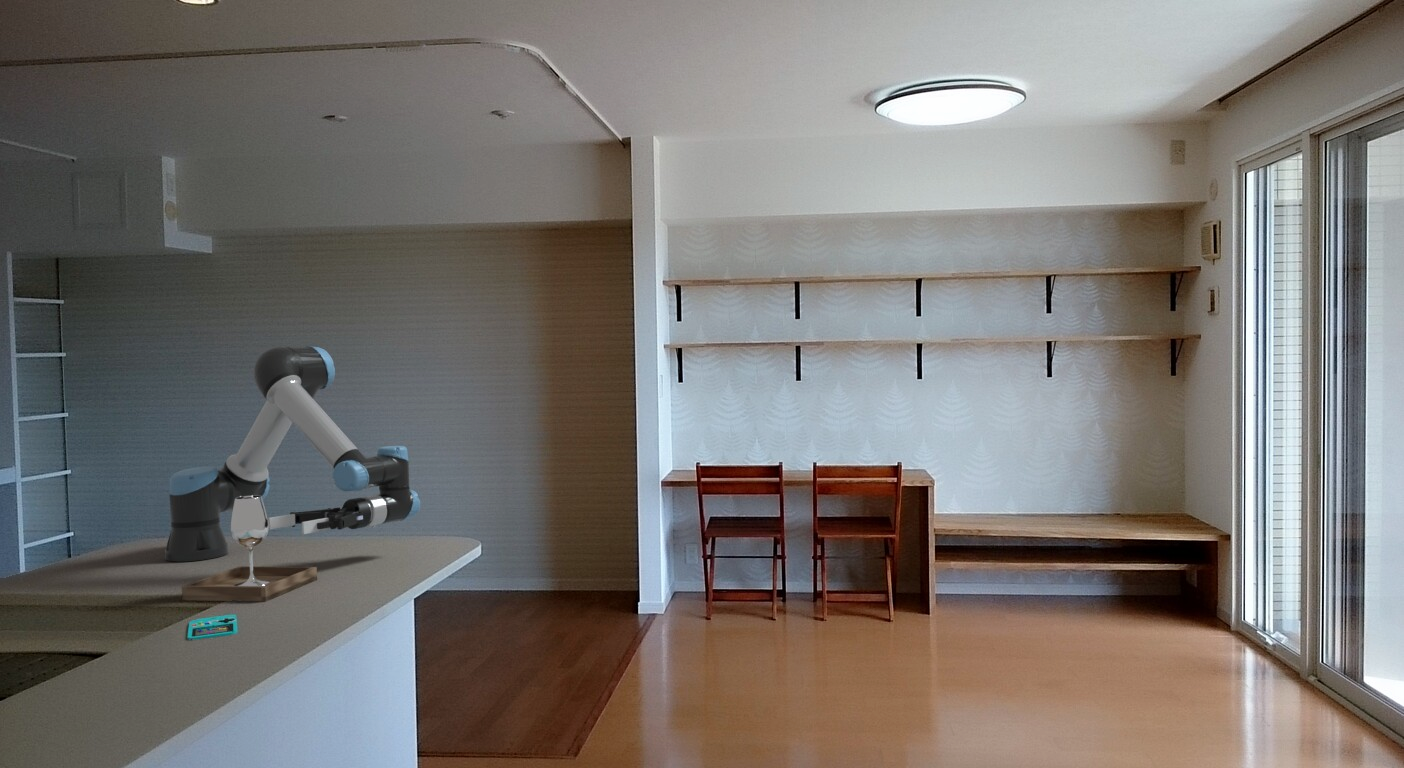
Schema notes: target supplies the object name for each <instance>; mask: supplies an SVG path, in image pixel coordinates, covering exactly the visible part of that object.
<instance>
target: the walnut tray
mask: <svg viewBox="0 0 1404 768" xmlns="http://www.w3.org/2000/svg"><path fill="white" fill-rule="evenodd" d="M253 574H254V577H255V578H256V579H257V580H269V581H270V584H268V585H266V586H234V585H235V584H237V583H240V582H244V581H247V580H248V579H249V576H250V565H248V566H246V565H244V566H243V565H242V566H240V565H239V566H237V567H234V568H231V569H228V570H225V571H223V572H220V573H216V574H213V575H210V576H208V577H206V578H201V579H200V580H197V581H193V582H191V583H188V584H185V585H181V600H182V601H211V602H213V601H216V602H218V601H220V602H221V601H222V602H224V601H225V602H229V601H230V602H233V601H232V600H253V601H252V602H267V600H268V601H270V600H272V599H275V598H278V597H279V596H282V595H284V593H285V594H287V593H289V592H291V591H294V590H296V589H299V588H301V587H303V585H304V586H306V585H308V584H311V583H312V582H315V581H317V580H318V567H317V566H254V565H253Z"/></svg>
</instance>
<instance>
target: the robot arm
mask: <svg viewBox="0 0 1404 768" xmlns="http://www.w3.org/2000/svg"><path fill="white" fill-rule="evenodd" d="M334 363H335V362H334V360H333V358H332V356H331V355H330V354H329V352H328V351H327V350H326V349H323V348H321V347H318V346H312V345H306V346H274V347H273V346H272V347H271V348H268V349H265V350H264V351H263V352H262V353H261V354H260V355H259V356H258V357H257V359H256V360H255V362H254V366H253V371H252V372H253V379H254V382H255V385H256V387H257V389H258V391H259V392H260V394H261V395H262V396H263V397H264V399H266V401H265V403H264V404H263V406H262V409H261V411H260V412H259V414H258V415H257V417H256V419H255V421H254V422H253V425H252V426H251V428H250V429H249V431H248V434H247V435H246V437H245V438H244V441H243V442H242V443H241V446H240V448H239V450H237V452H236V453H235V454H232V455H230V456H228V457H227V459H226V461H225V462H224V465H222V467H221V468H220V469H217V467H215V466H211V465H210V466H208V465H207V466H198V467H191V468H187V469H183V470H180V471H177V472H175V473H173V474H172V475H171V476H170V479H169V486H168V487H169V488H168V493H169V508H170V510H169V511H170V533H169V537H168V540H167V543H166V546H165V547H166V548H165V550H164V560H165V561H167V562H177V563H178V562H194V561H202V560H210V559H215V558H220V557H223V556H226V555H228V553H229V544H228V542H227V540H226V537H225V534H224V532H223V530H222V527H221V522H220V521H221V520H220V519H221V518H220V513H224V512H232V511H233V506H234V501H235V498H237V497H242V496H254V495H258V496H262V499H263V501H264V500H265V498H266V497H267V495H268V493H269V491H270V484H269V482H270V481H271V480H270V476H269V469H268V466H269V464H270V463H271V460H272V459H273V457H274V456H275V454H276V452H277V450H278V449H279V446H280V445H281V443H282V441H283V440H284V438H285V437H286V435H287V433H288V431H289V429H290V427H291V426H292V424H293V425H294V426H295V427H296V428H297V430H299V432H300V433H301V434H302V436H304V437H305V439H306V440H308V442H309V443H310V444H311V445H312V446H313V448H315V450H316V451H317V452H318V453H319V454H320V456H322V458H323V459H324V460H325V461H326V462H327V463H328V464H329V466H330V467H331V468H332V469H333V471H332V479H333V481H334V485H335V487H337V488H338V489H339V490H340V491H343V492H358V491H359V492H360V491H362V490H364V489H365V490H366V489H369V488H375V487H378V490H379V494H373V495H366V496H363V497H362V496H361V497H357V498H356V497H355V498H349V499H347V500H346V501H345V502H344V503H343V505H342V507H333V508H331V507H328V508H324V509H316V510H304V511H290V513H289V514H284V515H279V516H273V517H272V516H271V517H267V518H268V526H269V528H268V530H275V529H283V528H286V527H292V528H295V527H296V525H299V524H301V535H307V534H311V533H317V532H323V531H328V530H335V529H337V530H342V529H345V528H348V529H351V530H358V529H363V528H366V527H372V528H376V526H377V525H382V524H387V523H391V522H392V523H394V522H399V521H401V522H403V521H404V520H408V519H411V518H414V517H416V516H417V515H418V514H419V511H420V509H421V500H420V499H419V495H418V493H417V492H416V491H415V490H413V489H411V487H410V475H409V474H410V470H409V469H410V467H409V465H410V464H409V462H410V461H409V454H408V448H407V447H406V446H404V445H389V446H388V445H387V446H381V447H379V448H378V449H377V453H376V456H370V457H365V455H364V454H363V453H362V451H360V449H358V447H357V446H356V445H355V444H354V443H353V442H352V441H351V440H350V439H349V438H348V436H347V435H346V434H345V433H344V432H343V431H342V429H341V428H340V427H339V426H338V425H337V424H336V423H335V422H334V421H333V419H332V418H331V417H330V416H329V415H328V414H327V413H326V412H325V411H324V409H322V407H321V406H320V405H319V403H317V402H316V400H315V399H314V398H315V396H316V394H317V392H318V391H319V390H325V389H327V388H329V387H330V386H331V384H333V382H334V379H335V375H336V369H335V365H334Z"/></svg>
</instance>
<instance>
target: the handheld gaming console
mask: <svg viewBox="0 0 1404 768" xmlns="http://www.w3.org/2000/svg"><path fill="white" fill-rule="evenodd" d="M226 626H229V630H226V629H227V627H226ZM217 627H220V628H219V630H218V632H214V631H215V630H214V631H213V630H212V628H217ZM223 627H225V628H223ZM203 629H205V630H208V631H207V632H205V631H204V633H203V634H196V632H197V631H196V630H200V631H198V633H202V632H201V631H203ZM223 629H224V630H225V631H221V630H223ZM210 632H212V633H210ZM207 633H209V634H207ZM236 634H238V620H237V615H236V614H226V615H220V616H211V617H204V618H197V619H194V620H191V621H189V623H188V630H187V640H188V639H198V640H202V639H201V638H205V639H211V638H210V637H213V638H218V637H217V636H220V637H225V636H226V637H227V636H232V635H236Z"/></svg>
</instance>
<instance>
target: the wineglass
mask: <svg viewBox="0 0 1404 768" xmlns="http://www.w3.org/2000/svg"><path fill="white" fill-rule="evenodd" d="M268 518H269V517H268V514H267V511H266V507H265V503H264V500H263V499H262V496H258V495H254V496H242V497H237V498H235V501H234V506H233V510H231V518H230V534H231V537H232V540H234V542H235V543H237V544H238V545H239V546H241V547H244V548H246V549H247V551H248V559H249V566H250V576H249V579H248V580H247V581H244V582H240V583H237V584H235V585H234V586H266V585H268V584H270V581H269V580H257V579H256V578H255V577H254V574H253V566H254V556H253V554H254V549H255V547H257V546H259V545H260V544H261V543H263V541H264V540H265V539H266V537H267V535H268V533H269V526H268Z"/></svg>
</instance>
